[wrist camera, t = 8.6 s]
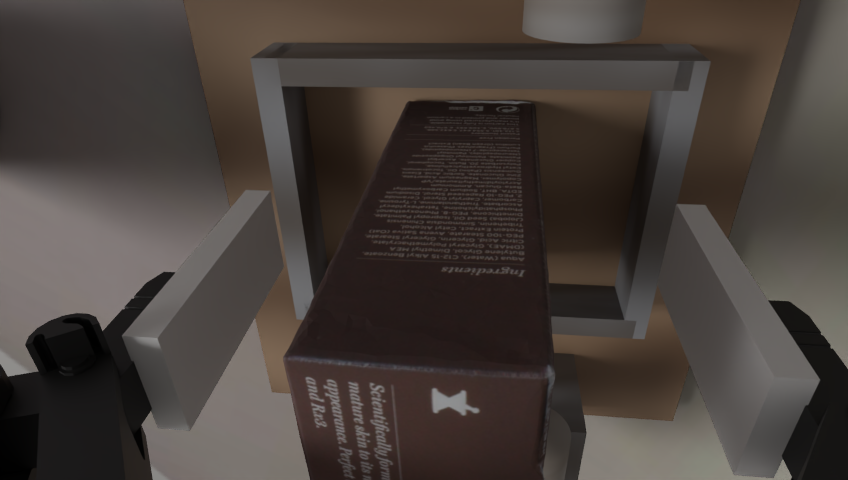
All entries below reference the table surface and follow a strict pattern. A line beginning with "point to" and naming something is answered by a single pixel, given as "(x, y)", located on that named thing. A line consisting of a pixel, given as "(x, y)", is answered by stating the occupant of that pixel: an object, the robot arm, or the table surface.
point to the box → (434, 309)
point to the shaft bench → (557, 141)
